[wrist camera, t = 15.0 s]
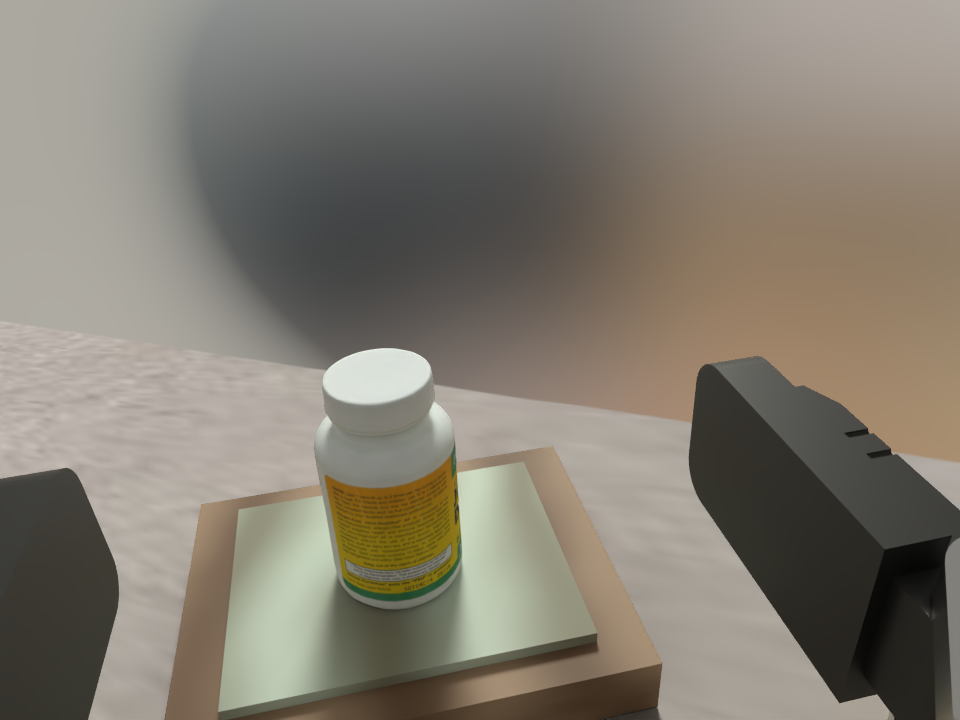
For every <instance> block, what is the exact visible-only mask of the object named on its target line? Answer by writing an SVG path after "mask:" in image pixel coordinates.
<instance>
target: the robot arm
mask: <svg viewBox="0 0 960 720" xmlns="http://www.w3.org/2000/svg"><path fill="white" fill-rule="evenodd" d="M689 468H690V474H691V479H692V483H693V486H694V489H695V491H696V494H697V496H698V498H699V499H700V501H701V503H702V504H703V506H704V507H705V509H706V510H707V511H708V513H709V514H710V516H711V517H712V519H713V520H714V522H715V523H716V525H717V526H718V527H719V529H720V530H721V532H722V533H723V535H724V536H725V538H726V539H727V540H728V542H729V543H730V545H731V546H732V548H733V549H734V551H735V552H736V554H737V555H738V556H739V558H740V559H741V561H742V562H743V564H744V565H745V567H746V568H747V570H748V571H749V572H750V574H751V575H752V577H753V578H754V580H755V581H756V583H757V584H758V586H759V587H760V588H761V590H762V591H763V593H764V594H765V596H766V597H767V599H768V600H769V601H770V603H771V604H772V606H773V607H774V609H775V610H776V612H777V613H778V615H779V616H780V617H781V619H782V620H783V622H784V623H785V625H786V626H787V628H788V629H789V631H790V632H791V633H792V635H793V636H794V638H795V639H796V641H797V642H798V644H799V645H800V647H801V648H802V649H803V651H804V652H805V654H806V655H807V657H808V658H809V660H810V661H811V662H812V664H813V665H814V667H815V668H816V670H817V671H818V673H819V674H820V676H821V677H822V678H823V680H824V681H825V683H826V684H827V686H828V687H829V689H830V690H831V692H832V693H833V694H834V696H835V697H836V699H837V700H838V702H839V703H842V702H846V701H851V700H855V699H859V698H863V697H867V696H871V695H876V694H877V695H878V696H879V697H880V699H881V700H882V701H883V703H884V704H885V705H886V707H887V708H888V709H889V711H890V713H889V716H888V719H887V720H960V510H959V509H958V508H957V507H955V506H954V505H953V504H952V503H951V502H950V501H949V500H948V499H947V498H945V497H944V496H943V495H942V494H941V493H940V492H939V491H938V490H936V489H935V488H934V487H933V486H932V485H931V484H930V483H929V482H928V481H926V480H925V479H924V478H923V477H922V476H921V475H920V474H919V473H917V472H916V471H915V470H914V469H913V468H912V467H911V466H910V465H908V464H907V463H906V462H905V461H904V460H903V459H902V458H901V457H900V456H898V455H897V454H895V455H892V453H891V448H889V447H888V446H887V445H886V444H885V443H884V442H883V441H882V440H881V439H879V438H878V437H877V436H876V435H875V434H874V433H873V434H869V432H868V428H867V427H866V426H865V425H864V424H863V423H862V422H860V421H859V420H858V419H857V418H856V417H855V416H854V415H853V414H851V413H850V412H849V411H848V410H847V409H846V408H845V407H844V406H842V405H841V404H840V403H838V402H836V401H834V400H831V399H830V398H828V397H826V396H823V395H821V394H819V393H817V392H815V391H813V390H811V389H809V388H807V387H805V386H798V387H795V386H794V385H792V384H791V383H790V382H789V381H788V380H787V379H786V378H785V377H784V376H783V375H782V374H781V373H780V372H779V371H778V370H777V369H775V368H774V367H773V366H772V365H771V364H770V363H769V362H768V361H767V360H765V359H764V358H762V357H759V356H754V357H748V358H743V359H737V360H730V361H724V362H718V363H712V364H706V365H704V366H702V368H701V369H700V371H699V373H698V376H697V383H696V392H695V402H694V410H693V420H692V430H691V440H690V449H689ZM118 600H119V584H118V575H117V570H116V565H115V562H114V559H113V556H112V554H111V552H110V549H109V547H108V545H107V542H106V540H105V538H104V535H103V533H102V531H101V528H100V526H99V524H98V521H97V519H96V517H95V514H94V512H93V510H92V507H91V505H90V502H89V500H88V498H87V495H86V493H85V491H84V488H83V486H82V484H81V482H80V480H79V478H78V476H77V475H76V474H75V473H74V471H72V470H71V469H68V468H63V469H57V470H51V471H45V472H39V473H33V474H27V475H21V476H15V477H8V478H2V479H0V720H88V718H89V714H90V710H91V706H92V703H93V699H94V695H95V691H96V688H97V684H98V680H99V676H100V673H101V669H102V665H103V661H104V658H105V654H106V650H107V647H108V643H109V639H110V635H111V632H112V628H113V624H114V620H115V617H116V613H117V608H118Z"/></svg>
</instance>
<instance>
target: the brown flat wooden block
mask: <svg viewBox="0 0 960 720" xmlns="http://www.w3.org/2000/svg"><path fill="white" fill-rule="evenodd" d="M456 467H457V482H458V496H459V502H458V503H459V511H460V527H461V541H462V561H461V565H460V568H459V571H458V573H457V575H456V577H455V579H454V580H453V582H452V583H451V584H450V585H449V587H448V588H447V589H445V590H444V591H443V592H442V593H441V594H439V595H438V596H437V597H435V598H434V599H432V600H430V601H428V602H426V603H424V604H421V605H418V606H415V607H411V608H407V609H398V610H396V609H382V608H377V607H374V606H371V605H368V604H365V603H362V602H360V601H358V600H357V599H355V598H353V597H352V596H351V595H350V594H349V593H348V592H347V591H346V590H345V589H344V588H343V586H342V585H341V583H340V581H339V578H338V576H337V572H336V568H335V563H334V557H333V552H332V546H331V540H330V534H329V528H328V522H327V517H326V511H325V506H324V501H323V496H322V491H321V486H320V485H316V486H310V487H304V488H298V489H292V490H286V491H280V492H274V493H268V494H262V495H256V496H250V497H244V498H238V499H232V500H226V501H220V502H214V503H207V504H201V508H200V514H199V520H198V526H197V531H196V537H195V543H194V549H193V555H192V561H191V567H190V573H189V579H188V585H187V590H186V596H185V602H184V608H183V614H182V620H181V626H180V632H179V638H178V644H177V649H176V655H175V661H174V667H173V673H172V679H171V685H170V691H169V697H168V702H167V708H166V714H165V720H600V719H604V718H609V717H613V716H617V715H622V714H626V713H631V712H635V711H639V710H644V709H648V708H653V707H657V706H658V697H659V688H660V679H661V670H662V662H661V660H660V658H659V656H658V654H657V652H656V650H655V648H654V646H653V644H652V642H651V640H650V638H649V636H648V634H647V632H646V630H645V628H644V626H643V624H642V622H641V620H640V618H639V616H638V614H637V612H636V610H635V608H634V606H633V604H632V602H631V600H630V598H629V596H628V594H627V592H626V590H625V588H624V586H623V584H622V582H621V580H620V578H619V576H618V574H617V572H616V570H615V568H614V566H613V564H612V562H611V560H610V558H609V556H608V554H607V552H606V550H605V548H604V546H603V544H602V542H601V540H600V538H599V536H598V535H597V533H596V531H595V529H594V527H593V525H592V523H591V521H590V519H589V517H588V515H587V513H586V511H585V509H584V507H583V505H582V503H581V501H580V499H579V497H578V495H577V493H576V491H575V489H574V487H573V485H572V483H571V481H570V479H569V477H568V475H567V473H566V471H565V469H564V467H563V465H562V463H561V461H560V459H559V457H558V455H557V453H556V451H555V449H554V447H553V446H551V447H545V448H539V449H533V450H527V451H521V452H515V453H509V454H503V455H497V456H491V457H485V458H479V459H473V460H467V461H461V462H456Z"/></svg>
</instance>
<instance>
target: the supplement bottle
mask: <svg viewBox="0 0 960 720" xmlns="http://www.w3.org/2000/svg"><path fill="white" fill-rule="evenodd" d="M322 389H323V395H324V402H325V404H324V406H325V412H326V414H327V416H326V418H325V419H324V420H323V422H322V423H321V425H320V426H319V428H318V431H317V433H316V437H315V442H314V450H315V458H316V464H317V470H318V475H319V480H320V486H321V491H322V496H323V501H324V506H325V511H326V517H327V522H328V528H329V534H330V540H331V546H332V552H333V557H334V563H335V568H336V572H337V576H338V578H339V581H340V583H341V585H342V586H343V588H344V589H345V590H346V591H347V592H348V593H349V594H350V595H351V596H352V597H353V598H355V599H357V600H358V601H360V602H362V603H365V604H368V605H371V606H374V607H377V608H382V609H396V610H398V609H407V608H411V607H415V606H418V605H421V604H424V603H426V602H428V601H430V600H432V599H434V598H435V597H437V596H438V595H439V594H441V593H442V592H443V591H444V590H445V589H447V588H448V587H449V585H450V584H451V583H452V582H453V580H454V579H455V577H456V575H457V573H458V571H459V568H460V565H461V561H462V541H461V527H460V511H459V503H458V502H459V496H458V482H457V467H456V451H455V437H454V430H453V426H452V423H451V421H450V419H449V417H448V415H447V414H446V412H445V411H444V410H443V409H442V408H441V407H440V406H439V405H438V404H436V403H435V402H434V399H435V391H434V385H433V377H432V371H431V367H430V365H429V363H428V362H427V361H426V360H425V359H424V358H423V357H421V356H420V355H418V354H416V353H413V352H410V351H405V350H401V349H393V348H387V349H386V348H385V349H373V350H368V351H363V352H358V353H355V354H352V355H349V356H348V357H345V358H343V359H341V360H339V361H338V362H336V363H335V364H333V365H332V366H331V367H330V368H329V369H328V370H327V371H326V373H325V374H324V377H323V381H322Z"/></svg>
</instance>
